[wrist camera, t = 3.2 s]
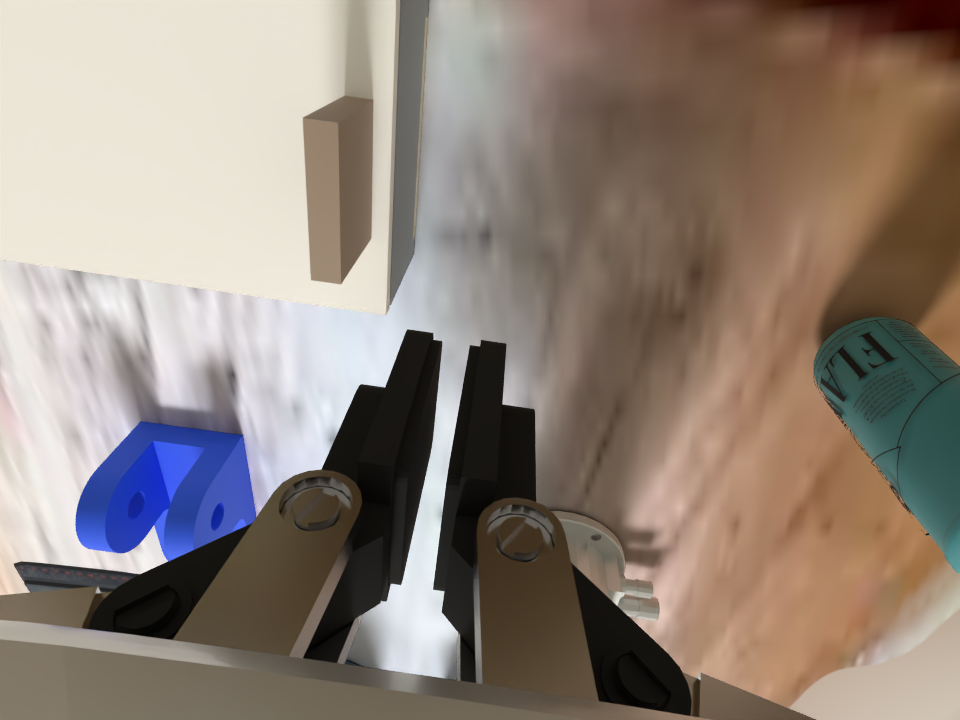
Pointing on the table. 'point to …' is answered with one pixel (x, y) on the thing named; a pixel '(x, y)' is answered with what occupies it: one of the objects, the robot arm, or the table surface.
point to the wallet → (68, 577)
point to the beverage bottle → (901, 416)
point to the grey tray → (408, 134)
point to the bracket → (167, 491)
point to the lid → (203, 143)
